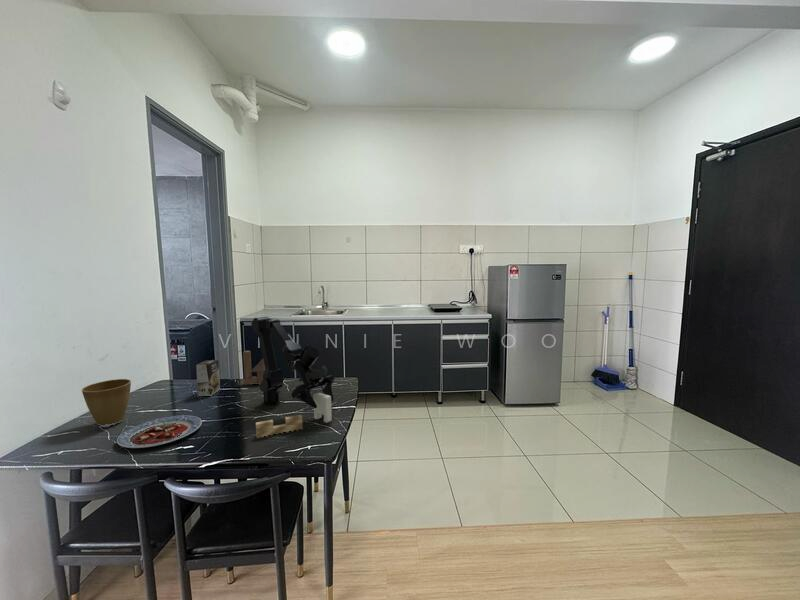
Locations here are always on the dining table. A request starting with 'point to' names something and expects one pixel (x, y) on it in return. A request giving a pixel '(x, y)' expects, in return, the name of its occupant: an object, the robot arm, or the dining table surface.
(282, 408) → the dining table surface
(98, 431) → the dining table surface
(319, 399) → the grey tapered block
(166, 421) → the ceramic plate
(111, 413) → the plant pot
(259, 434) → the notched base plate
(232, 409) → the dining table surface
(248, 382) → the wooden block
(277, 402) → the robot arm
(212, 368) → the coffee box
